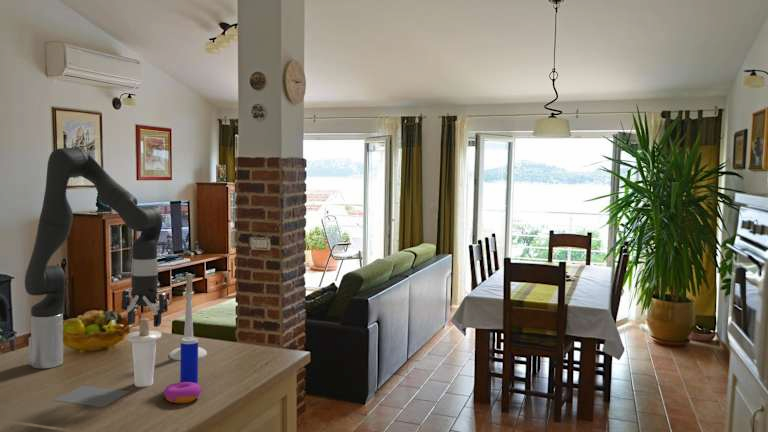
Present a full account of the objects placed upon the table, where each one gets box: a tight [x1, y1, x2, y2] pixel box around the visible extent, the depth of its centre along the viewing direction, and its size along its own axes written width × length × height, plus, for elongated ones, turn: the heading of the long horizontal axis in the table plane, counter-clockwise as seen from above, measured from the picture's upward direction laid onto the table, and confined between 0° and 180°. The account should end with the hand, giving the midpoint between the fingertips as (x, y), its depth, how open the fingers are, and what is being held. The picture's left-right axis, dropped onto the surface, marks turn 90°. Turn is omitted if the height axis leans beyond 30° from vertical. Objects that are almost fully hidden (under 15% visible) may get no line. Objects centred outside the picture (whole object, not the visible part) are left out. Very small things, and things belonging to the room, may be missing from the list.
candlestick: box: [169, 273, 208, 361], centre depth 215 cm, size 13×13×30 cm
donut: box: [163, 382, 202, 404], centre depth 176 cm, size 10×10×5 cm
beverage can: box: [179, 336, 199, 385], centre depth 186 cm, size 5×5×15 cm
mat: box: [53, 385, 130, 408], centre depth 174 cm, size 16×12×1 cm
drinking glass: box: [131, 341, 157, 388], centre depth 185 cm, size 7×7×15 cm
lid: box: [126, 317, 162, 344], centre depth 184 cm, size 10×10×6 cm
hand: (144, 324), depth 184 cm, fingers open, 8 cm apart
